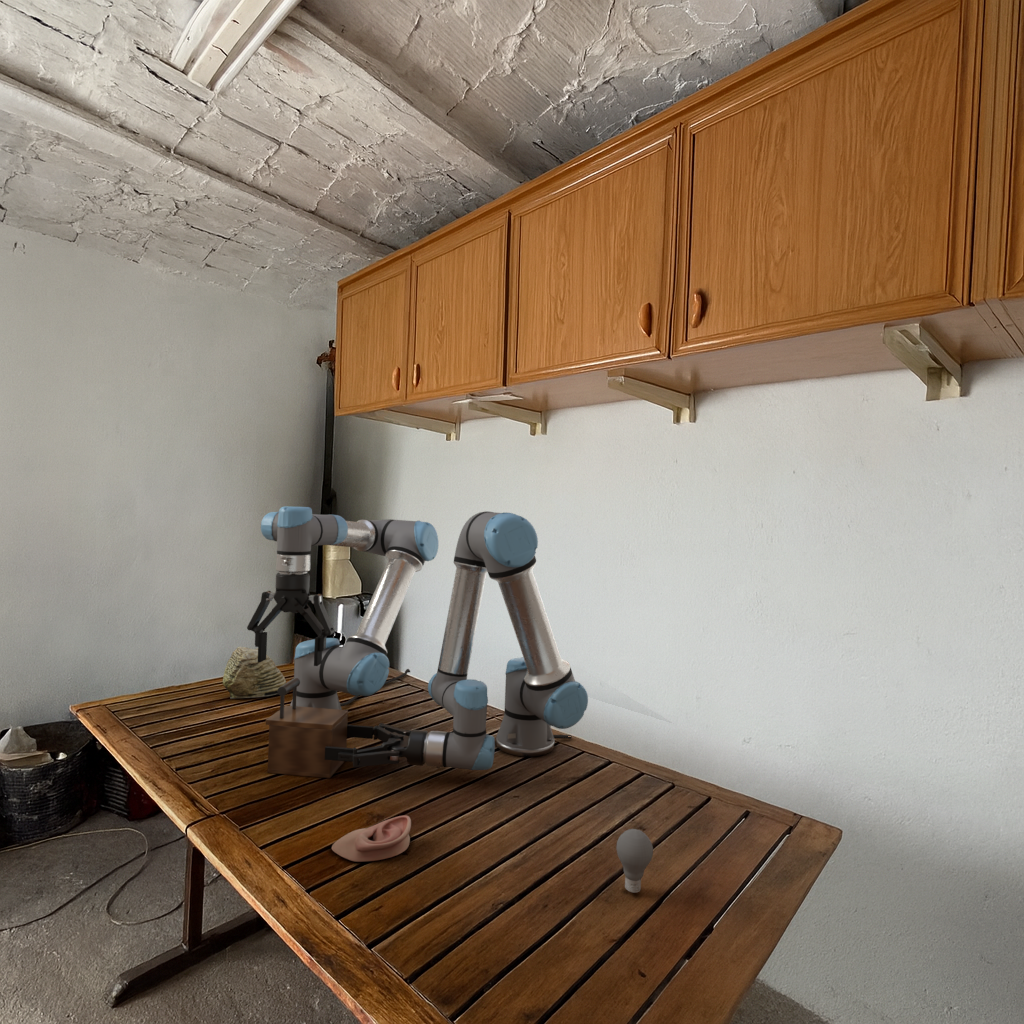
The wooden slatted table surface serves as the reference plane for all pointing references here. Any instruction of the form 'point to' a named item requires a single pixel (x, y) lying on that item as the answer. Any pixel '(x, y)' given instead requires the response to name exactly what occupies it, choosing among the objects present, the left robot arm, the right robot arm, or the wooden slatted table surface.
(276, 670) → the fossil
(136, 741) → the wooden slatted table surface
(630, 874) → the light bulb
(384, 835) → the anatomical model
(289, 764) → the chest
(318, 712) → the lid
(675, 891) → the wooden slatted table surface
